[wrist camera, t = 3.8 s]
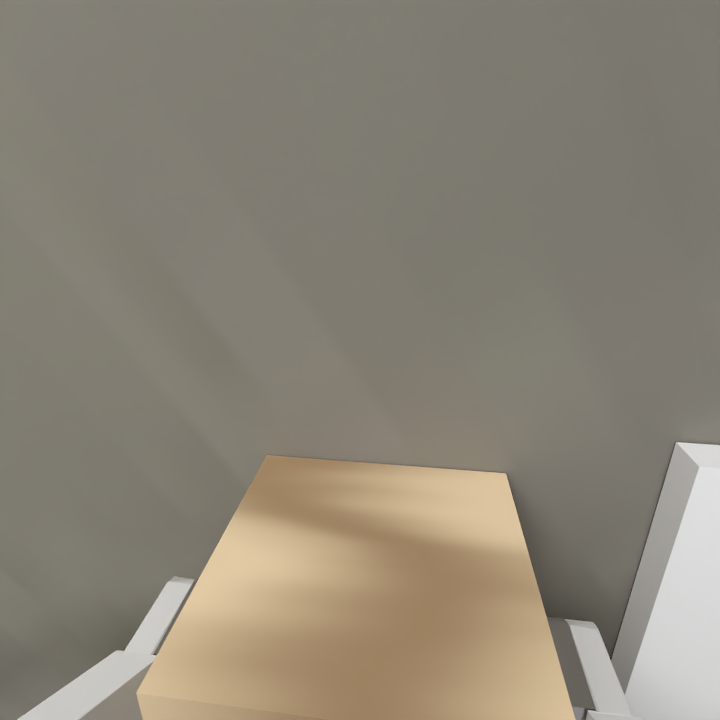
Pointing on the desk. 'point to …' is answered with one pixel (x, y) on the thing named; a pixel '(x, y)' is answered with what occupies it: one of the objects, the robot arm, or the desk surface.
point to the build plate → (677, 598)
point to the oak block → (363, 604)
